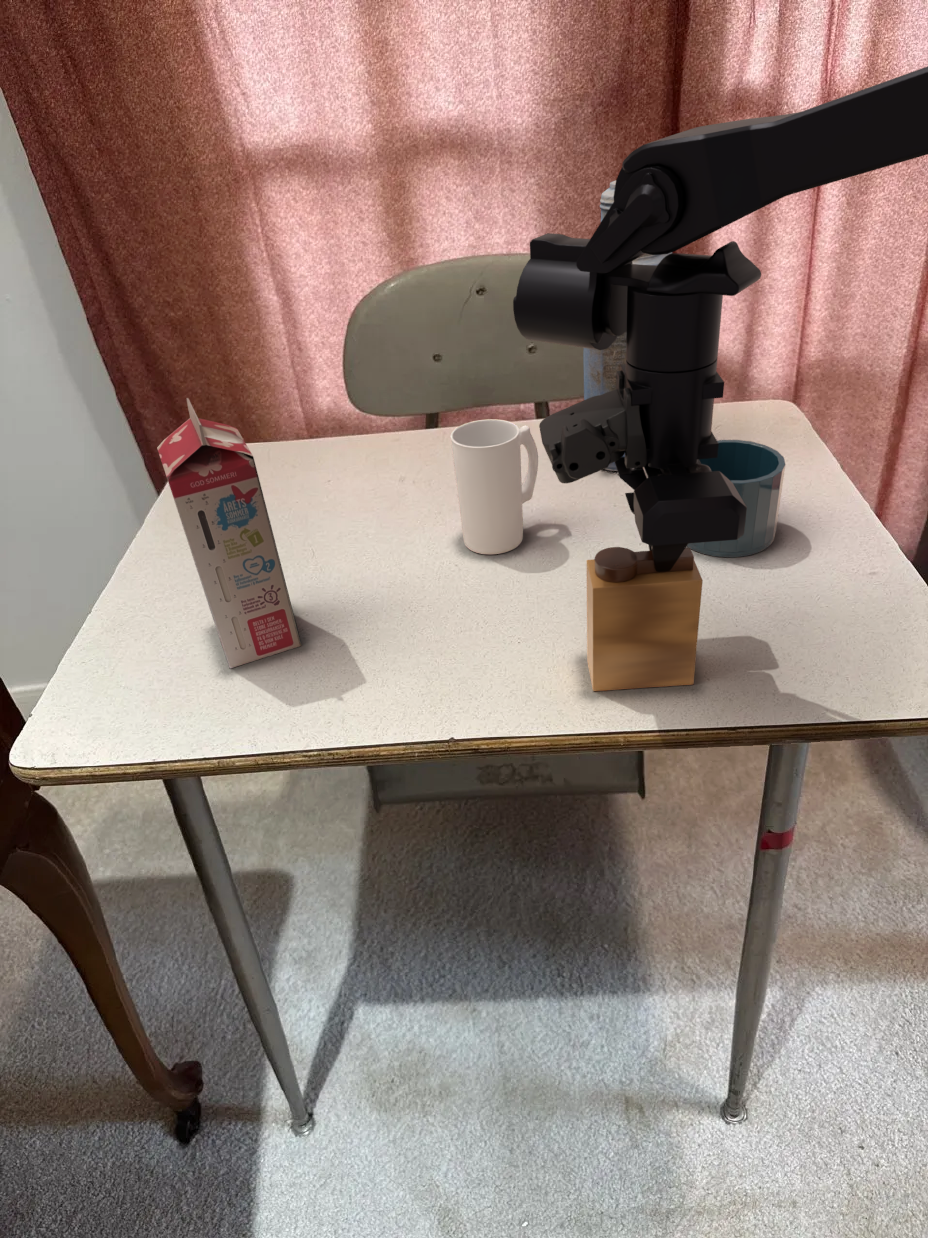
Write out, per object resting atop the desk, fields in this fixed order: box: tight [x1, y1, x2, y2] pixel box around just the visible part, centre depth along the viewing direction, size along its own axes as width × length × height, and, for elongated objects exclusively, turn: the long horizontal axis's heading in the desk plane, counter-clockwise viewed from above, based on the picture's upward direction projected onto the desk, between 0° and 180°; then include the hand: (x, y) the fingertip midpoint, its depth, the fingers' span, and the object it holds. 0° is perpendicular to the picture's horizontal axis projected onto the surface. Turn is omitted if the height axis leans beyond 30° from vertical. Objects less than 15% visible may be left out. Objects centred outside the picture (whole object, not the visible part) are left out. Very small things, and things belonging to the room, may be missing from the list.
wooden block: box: [586, 558, 703, 692], centre depth 66 cm, size 8×4×10 cm, turn 90°
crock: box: [686, 439, 786, 558], centre depth 83 cm, size 10×10×8 cm
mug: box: [449, 418, 539, 555], centre depth 85 cm, size 10×7×12 cm, turn 129°
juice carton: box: [156, 397, 303, 669], centre depth 71 cm, size 7×7×22 cm
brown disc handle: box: [594, 546, 695, 582], centre depth 62 cm, size 7×3×1 cm, turn 90°
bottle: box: [582, 180, 673, 472], centre depth 93 cm, size 10×10×30 cm
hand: (660, 564), depth 63 cm, fingers closed on brown disc handle, 1 cm apart
